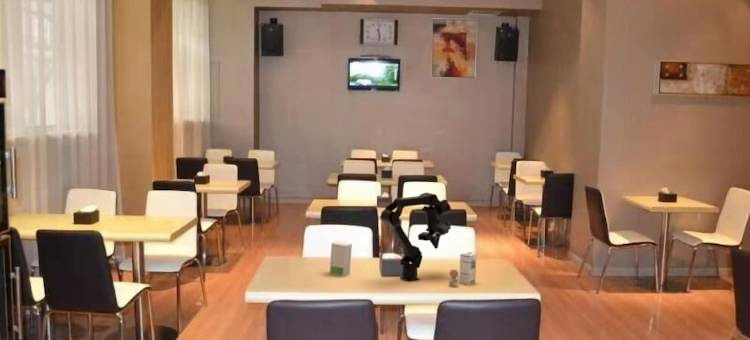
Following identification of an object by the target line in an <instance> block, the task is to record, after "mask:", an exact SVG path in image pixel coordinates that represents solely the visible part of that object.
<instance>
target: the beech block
mask: <svg viewBox="0 0 750 340" xmlns="http://www.w3.org/2000/svg"><path fill="white" fill-rule="evenodd" d="M448 281H449V282H448V283H449V284H448V287H449V288H458V286H459V276H458V277H452V276H450V275H449V279H448Z"/></svg>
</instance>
